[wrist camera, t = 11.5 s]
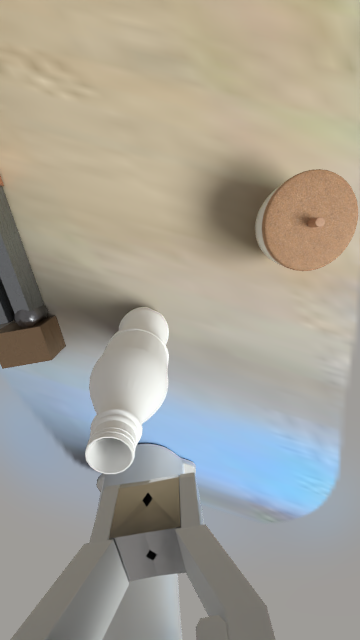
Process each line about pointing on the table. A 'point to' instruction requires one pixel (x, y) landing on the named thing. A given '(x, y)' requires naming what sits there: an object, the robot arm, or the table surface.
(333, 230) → the lidded jar
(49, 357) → the tong base
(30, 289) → the tong arm
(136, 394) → the water bottle
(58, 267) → the table surface
